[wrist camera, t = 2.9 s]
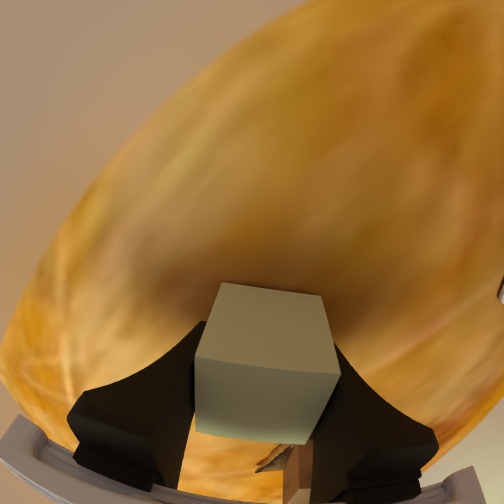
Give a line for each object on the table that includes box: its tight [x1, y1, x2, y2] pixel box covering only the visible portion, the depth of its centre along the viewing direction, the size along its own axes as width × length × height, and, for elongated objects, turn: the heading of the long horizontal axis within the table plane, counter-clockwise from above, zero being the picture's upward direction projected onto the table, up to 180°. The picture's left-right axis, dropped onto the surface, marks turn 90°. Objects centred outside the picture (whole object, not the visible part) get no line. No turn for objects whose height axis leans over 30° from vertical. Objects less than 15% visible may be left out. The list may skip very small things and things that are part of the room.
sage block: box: [195, 282, 341, 445], centre depth 11 cm, size 4×4×5 cm
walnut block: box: [283, 439, 313, 504], centre depth 14 cm, size 5×5×4 cm
